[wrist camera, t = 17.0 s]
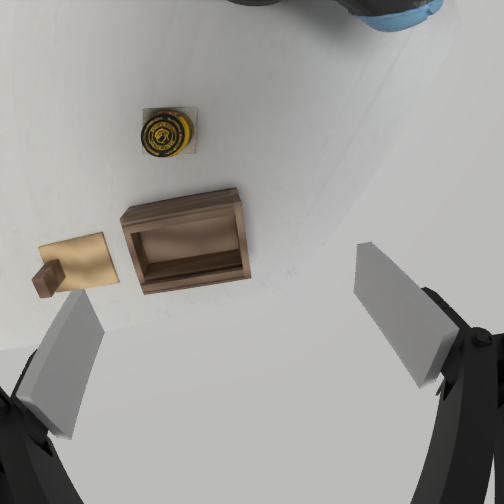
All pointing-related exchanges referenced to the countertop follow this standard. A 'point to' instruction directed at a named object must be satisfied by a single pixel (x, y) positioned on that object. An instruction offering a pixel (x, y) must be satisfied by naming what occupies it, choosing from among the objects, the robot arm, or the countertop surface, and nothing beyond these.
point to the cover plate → (75, 265)
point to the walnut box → (187, 241)
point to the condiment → (169, 131)
